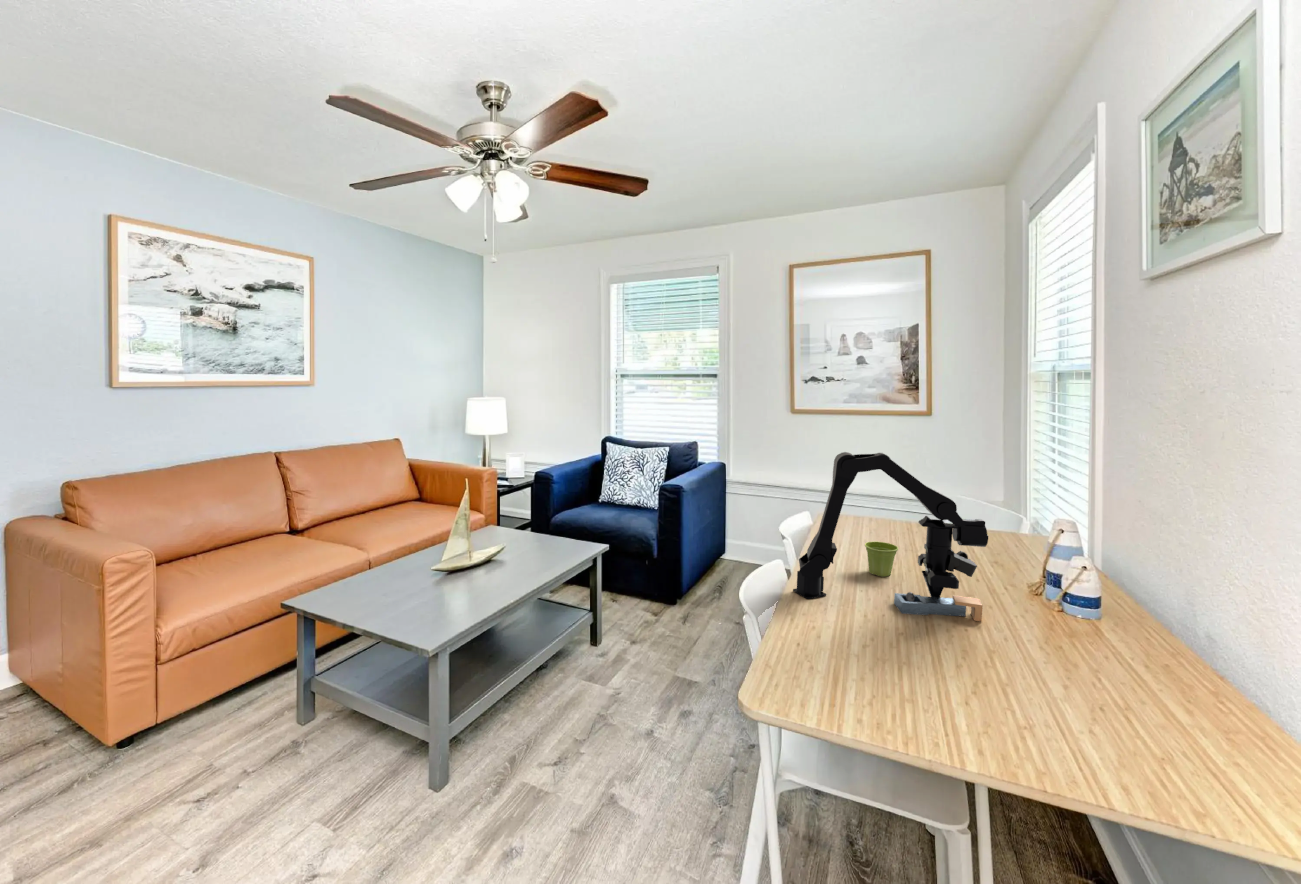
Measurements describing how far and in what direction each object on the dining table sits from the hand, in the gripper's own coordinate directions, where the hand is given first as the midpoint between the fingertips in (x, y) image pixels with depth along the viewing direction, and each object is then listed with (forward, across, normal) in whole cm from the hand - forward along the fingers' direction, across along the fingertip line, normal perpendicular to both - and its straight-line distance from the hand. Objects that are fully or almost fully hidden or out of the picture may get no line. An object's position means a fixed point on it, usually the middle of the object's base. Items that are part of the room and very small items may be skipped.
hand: (935, 602), depth 135 cm
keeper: (+1, -4, -5) cm, 7 cm away
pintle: (+1, -4, +6) cm, 8 cm away
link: (+1, -4, +2) cm, 4 cm away
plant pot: (+1, +22, +11) cm, 24 cm away
